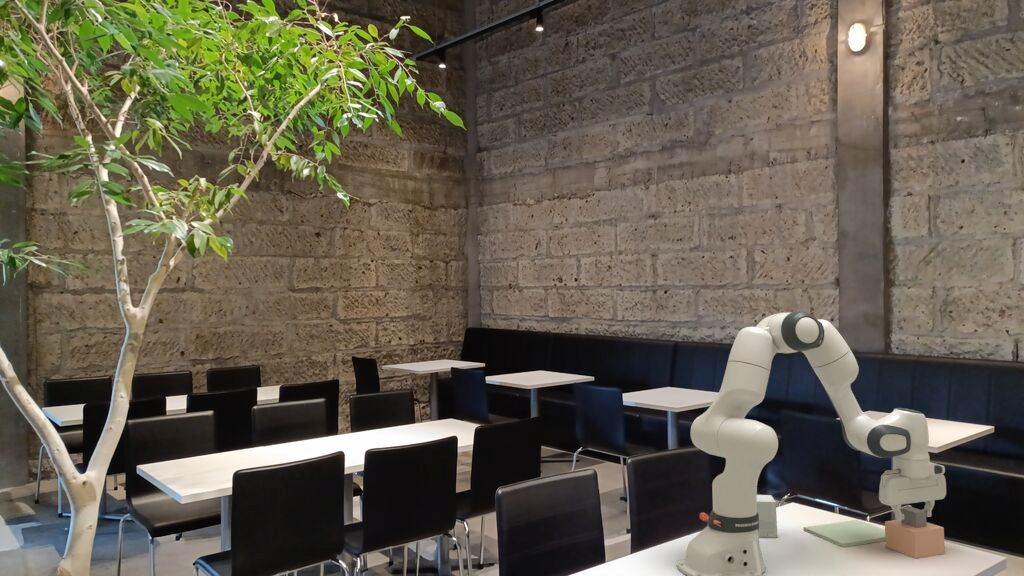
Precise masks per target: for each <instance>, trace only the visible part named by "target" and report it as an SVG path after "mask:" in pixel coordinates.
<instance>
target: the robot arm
mask: <svg viewBox="0 0 1024 576" xmlns="http://www.w3.org/2000/svg"><path fill="white" fill-rule="evenodd" d="M798 352H801V353H803V354H804V356H805V357H806V358H807V361H808V363H809V364H810V366H811V368H812V369H813V371H814V373H815V375H816V376H817V377H818V380H820V383H821V384H822V386H823V388H824V390H825V392H826V394H827V396H828V398H829V400H830V402H831V404H832V406H833V408H834V410H835V412H836V415H837V416H838V417H839V421H840V424H841V431H842V437H843V439H844V442H845V443H846V444H847V446H849V447H850V448H851V449H853V450H855V451H858V452H863V453H865V454H869V455H871V456H874V457H877V458H881V459H884V458H885V459H888V458H892V461H893V462H892V464H893V467H892V468H893V469H891V470H890V469H888V470H885V471H884V472H883V473H882V474H881V476H880V482H879V487H878V488H879V490H878V500H879V503H881V504H883V505H885V506H890V508H891V509H892V511H893V513H894V520H898V521H902V520H904V514H902V513H901V508H902V505H909V504H910V505H911V504H918V503H923V502H924V504H925V505H924V508H922V509H921V510H923V511H926V518H929V517H930V518H931V517H932V510H933V509H934V507H935V501H938V500H943V499H945V497H946V496H947V482H946V477H945V475H944V474H945V472H946V468H945V465H941V464H938V463H936V462H935V463H934V462H932V461H930V460H931V459H930V458H931V457H930V453H929V452H928V451H929V449H928V446H929V443H930V440H929V438H930V435H929V427H928V421H927V418H926V416H925V414H924V413H923V412H921V411H919V410H914V409H910V408H906V407H905V408H903V407H896V408H893V411H892V412H890V413H889V414H887V415H886V416H884V417H882V418H879V419H873V418H872V417H870V416H868V415H867V414H866V413H864V412H863V410H862V409H861V407H860V405H859V403H858V400H857V399H856V396H855V395H854V393H853V391H852V387H851V384H852V383H853V382H855V380H856V379H857V377H858V375H859V370H860V368H859V365H858V361H857V359H856V357H855V355H854V353H853V351H852V350H851V348H850V346H849V345H848V343H847V342H846V340H845V339H844V338H843V336H842V335H841V334H840V332H839V330H838V329H836V327H835V326H834V325H833V323H831V322H830V321H829V320H826V319H822V318H821V319H819V318H818V319H817V318H816V317H815V316H814V315H813V314H811V313H808V312H805V311H799V310H798V311H792V312H790V311H789V312H779V313H774V314H772V315H766V316H764V317H761V318H760V319H759V320H757V322H755V324H754V325H753V326H747V327H746V326H745V327H743V328H741V329H740V330H738V332H737V335H736V337H735V339H734V342H733V344H732V347H731V349H730V352H729V355H728V360H727V363H726V368H725V372H724V375H723V380H722V383H721V387H720V389H719V391H718V393H717V395H716V396H715V399H714V400H713V401H712V403H711V404H710V406H709V407H708V408H707V410H706V411H704V412H703V413H702V414H700V415H699V416H697V417H696V418H695V419H694V421H693V422H692V423H691V427H690V432H689V433H690V440H691V442H692V444H693V445H694V446H695V447H696V448H697V449H699V450H701V451H703V452H705V453H706V454H709V455H712V456H716V457H721V458H724V459H725V467H724V470H723V472H722V473H719V474H717V476H716V477H715V478H714V479H713V480H712V484H711V487H712V489H711V490H712V493H711V494H712V510H711V512H710V514H708V513H706V512H703V511H702V512H700V513H699V519H700V520H701V521H703V522H707V523H706V527H704V528H703V529H702V530H701V531H700V532H699V533H698V534H697V535H696V536H695V537H694V538H693V539H691V540H690V541H688V544H687V546H686V550H685V558H684V559H680V560H677V563H676V566H677V569H678V570H679V571H680V572H681V573H683V574H684V575H686V576H763V575H762V574H763V573H764V572H765V571H766V566H765V561H764V560H763V554H762V550H761V546H760V545H761V544H760V537H759V536H758V531H759V514H758V512H757V495H758V487H757V486H758V481H759V478H760V475H761V472H762V470H763V469H764V467H765V466H766V465H767V464H768V463H769V462H771V461H772V460H773V459H774V458H775V456H776V454H777V452H778V449H779V439H778V436H777V433H776V431H775V430H774V428H772V427H771V426H769V425H767V424H765V423H763V422H760V421H758V420H755V419H754V420H753V419H748V418H745V417H746V416H747V414H749V412H750V411H751V410H752V409H753V408H755V407H756V406H757V405H759V404H760V403H762V402H763V400H764V399H765V396H766V391H767V387H768V383H769V378H770V374H771V368H772V361H773V359H774V357H775V355H776V354H778V353H779V354H793V353H798Z"/></svg>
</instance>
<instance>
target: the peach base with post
mask: <svg viewBox="0 0 1024 576" xmlns="http://www.w3.org/2000/svg"><path fill="white" fill-rule="evenodd" d="M900 511H901V513H902V514H904V520H902V521H898V520H896V519H893V520H888V521H887V520H886V521H884V530H885V540H886V541H885V547H886V548H888V549H889V550H890V549H891V550H893V551H895V552H898V553H901V554H903V555H906V556H908V557H911V558H914V559H921V558H928V557H935V556H940V555H945V554H946V551H945V550H946V549H945V547H946V546H945V528H944V527H943V526H941V525H937V524H934V523H931V522H927V517H926V511H923V510H922V509H919V508H916V507H912V506H906V507H901V508H900Z"/></svg>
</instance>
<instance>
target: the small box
mask: <svg viewBox="0 0 1024 576" xmlns="http://www.w3.org/2000/svg"><path fill="white" fill-rule="evenodd" d="M757 512H758V514H759V531H758V536H759V538H778V521H777V519H778V517H777V502H776V500H775V498H774V497H773V495H770V494H757Z"/></svg>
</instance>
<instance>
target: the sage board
mask: <svg viewBox="0 0 1024 576" xmlns="http://www.w3.org/2000/svg"><path fill="white" fill-rule="evenodd" d="M803 531H804V532H806V533H808V534H810V535H813V536H815V537H818V538H820V539H822V540H825V541H827V542H830V543H833V544H835V545H837V546H839V547H841V548H847V547H853V546H860V545H865V544H874V543H879V542H886V540H885V528H884V529H883V528H881V527H878V526H876V525H873V524H870V523H867V522H865V521H862V520H859V521H858V519H854V520H847V521H838V522H833V523H832V522H831V523H824V524H816V525H811V526H804V527H803Z"/></svg>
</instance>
